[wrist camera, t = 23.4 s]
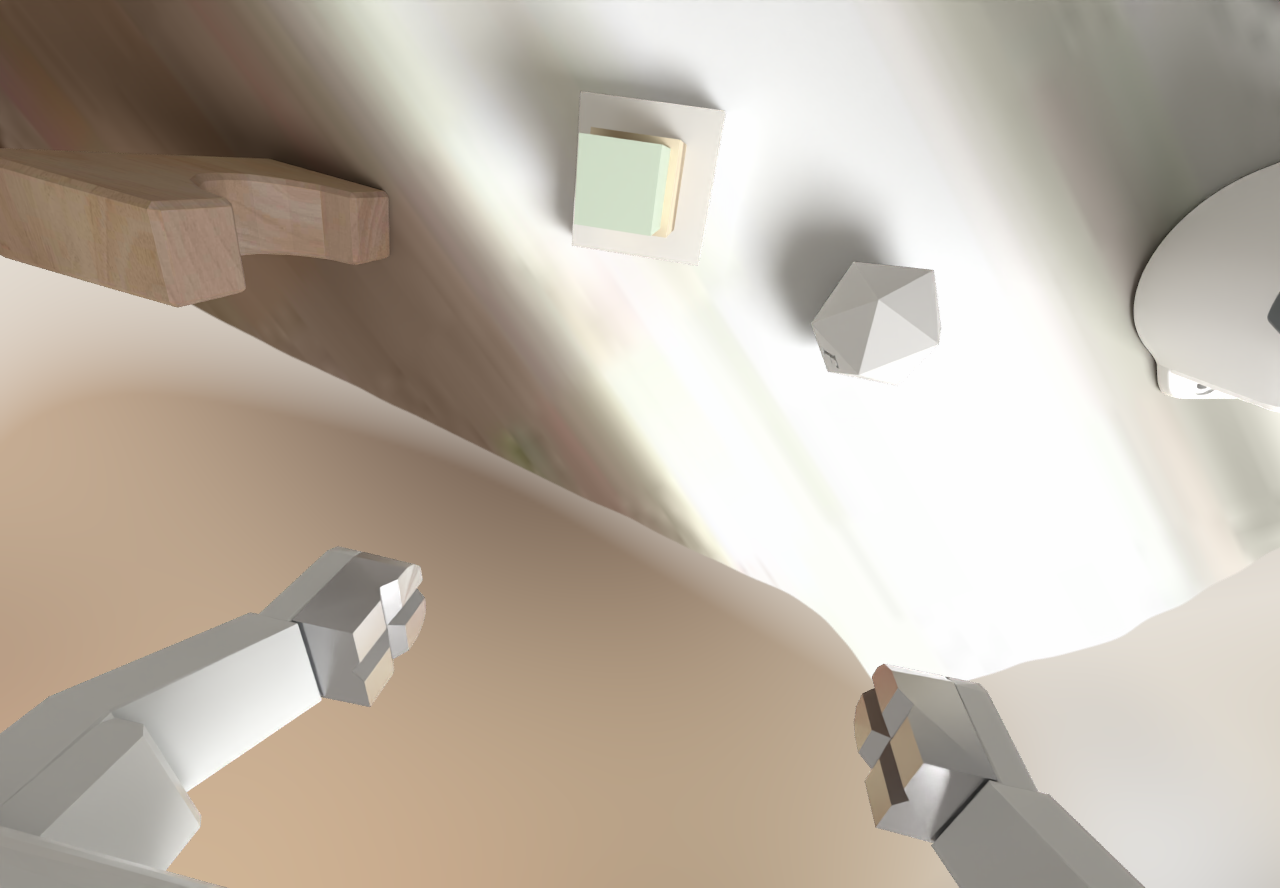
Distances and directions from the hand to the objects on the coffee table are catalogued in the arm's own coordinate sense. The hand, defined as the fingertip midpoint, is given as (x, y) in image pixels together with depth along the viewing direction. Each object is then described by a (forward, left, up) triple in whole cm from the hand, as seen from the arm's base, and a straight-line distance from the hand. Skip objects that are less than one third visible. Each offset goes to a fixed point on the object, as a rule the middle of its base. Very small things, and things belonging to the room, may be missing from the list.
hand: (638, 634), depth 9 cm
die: (-13, +1, -37) cm, 40 cm away
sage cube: (+6, -6, -29) cm, 30 cm away
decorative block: (+33, 0, -37) cm, 50 cm away
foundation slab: (+6, -6, -37) cm, 38 cm away
